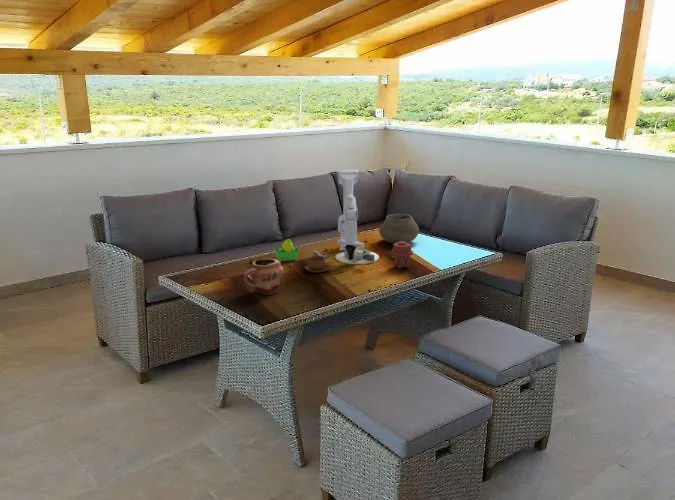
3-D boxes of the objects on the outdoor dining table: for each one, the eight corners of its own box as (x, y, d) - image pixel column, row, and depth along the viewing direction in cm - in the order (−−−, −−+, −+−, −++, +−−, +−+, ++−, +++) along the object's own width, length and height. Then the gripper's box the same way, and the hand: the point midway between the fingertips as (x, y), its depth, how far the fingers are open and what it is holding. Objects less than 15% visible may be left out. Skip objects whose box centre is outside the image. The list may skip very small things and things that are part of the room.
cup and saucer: (299, 270, 289) (299, 258, 288) (317, 265, 298) (317, 253, 296) (316, 276, 281) (316, 263, 280) (335, 270, 289) (335, 258, 288)
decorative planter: (256, 302, 248) (254, 269, 244) (237, 295, 256) (235, 264, 252) (291, 289, 262) (290, 258, 259) (271, 284, 270) (270, 254, 266)
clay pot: (407, 249, 324) (407, 222, 320) (372, 244, 335) (372, 217, 331) (424, 240, 341) (425, 214, 337) (391, 236, 352) (391, 210, 348)
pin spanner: (314, 252, 321) (313, 248, 320) (319, 251, 322) (319, 247, 321) (321, 259, 308) (321, 254, 308) (327, 258, 309) (327, 254, 309)
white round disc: (338, 251, 321) (338, 244, 320) (380, 252, 318) (380, 245, 317) (332, 263, 300) (332, 256, 299) (377, 264, 297) (377, 257, 296)
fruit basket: (295, 256, 313) (295, 235, 310) (300, 261, 305) (299, 239, 302) (274, 258, 309) (273, 237, 306) (277, 263, 301) (277, 241, 298)
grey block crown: (334, 258, 305) (334, 250, 304) (354, 251, 318) (354, 243, 317) (355, 262, 297) (355, 254, 296) (375, 255, 310) (375, 247, 309)
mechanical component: (391, 263, 299) (411, 264, 298) (391, 269, 289) (412, 270, 288) (391, 239, 296) (412, 239, 295) (391, 244, 286) (413, 245, 285)
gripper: (334, 232, 298) (334, 258, 302) (358, 236, 290) (358, 263, 294) (342, 229, 304) (342, 255, 307) (366, 233, 295) (366, 260, 299)
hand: (350, 259), depth 301 cm, fingers closed
